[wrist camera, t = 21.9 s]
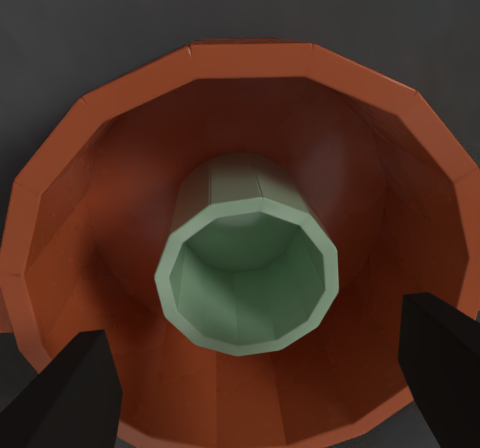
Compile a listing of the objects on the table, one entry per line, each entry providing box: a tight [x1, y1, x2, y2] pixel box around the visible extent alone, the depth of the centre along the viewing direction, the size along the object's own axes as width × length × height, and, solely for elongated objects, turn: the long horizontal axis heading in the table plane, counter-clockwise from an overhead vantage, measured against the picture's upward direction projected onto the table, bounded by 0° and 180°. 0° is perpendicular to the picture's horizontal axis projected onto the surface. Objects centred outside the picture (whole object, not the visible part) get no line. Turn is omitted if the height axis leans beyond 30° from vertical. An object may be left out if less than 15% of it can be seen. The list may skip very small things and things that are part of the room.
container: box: [154, 152, 339, 356], centre depth 15 cm, size 6×6×5 cm
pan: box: [0, 38, 480, 448], centre depth 15 cm, size 13×19×6 cm
